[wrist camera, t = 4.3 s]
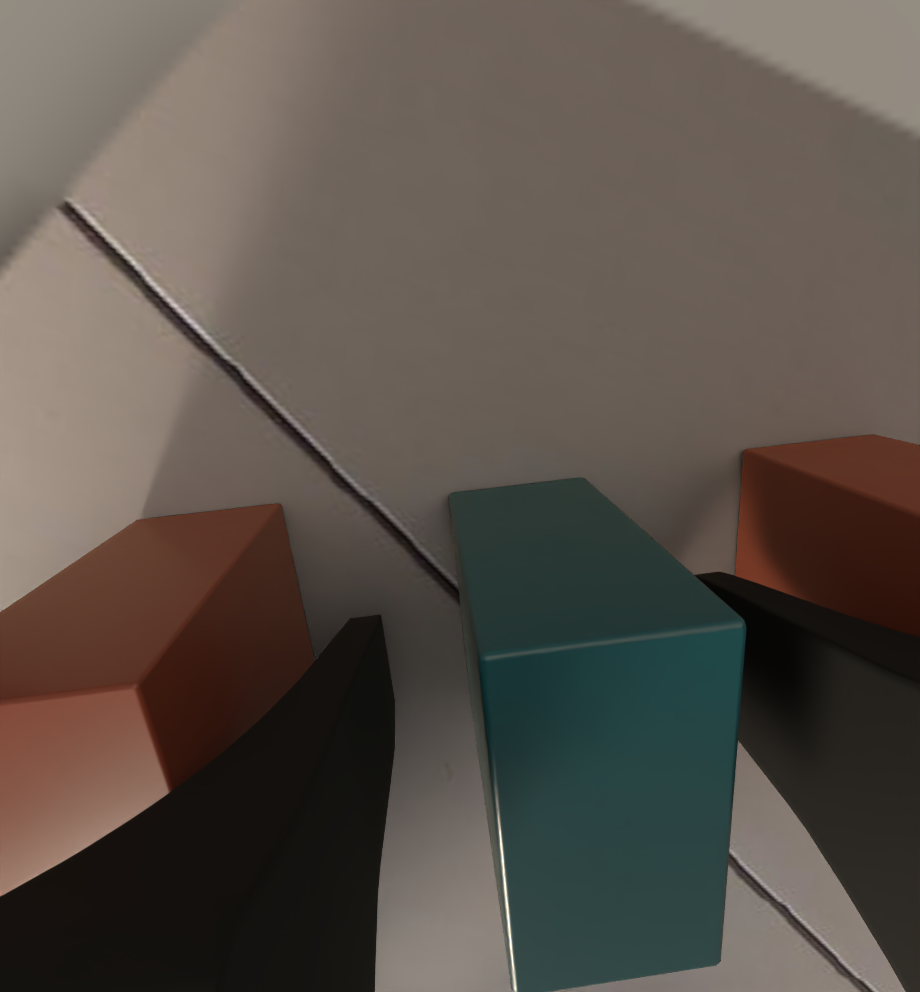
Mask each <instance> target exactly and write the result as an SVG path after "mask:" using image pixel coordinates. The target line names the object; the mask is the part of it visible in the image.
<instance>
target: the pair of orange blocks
mask: <svg viewBox="0 0 920 992" xmlns="http://www.w3.org/2000/svg"><path fill="white" fill-rule="evenodd" d="M735 576H737V577H740V578H744V579H747V580H750V581H753V582H756V583H758V584H761V585H764V586H767V587H770V588H773V589H775V590H778V591H781V592H784V593H787V594H789V595H792V596H795V597H798V598H800V599H803V600H806V601H809V602H812V603H814V604H817V605H820V606H823V607H826V608H829V609H832V610H834V611H837V612H840V613H843V614H846V615H849V616H852V617H855V618H858V619H861V620H865V621H868V622H871V623H874V624H877V625H880V626H884V627H887V628H890V629H893V630H896V631H900V632H903V633H907V634H910V635H914V636H917V637H920V445H917V444H913V443H908V442H904V441H900V440H895V439H891V438H887V437H882V436H878V435H874V434H873V435H865V436H856V437H847V438H839V439H830V440H822V441H813V442H804V443H796V444H787V445H779V446H770V447H761V448H753V449H746V450H744V452H743V467H742V482H741V496H740V511H739V526H738V540H737V555H736V570H735ZM314 662H315V661H314V656H313V651H312V647H311V642H310V637H309V633H308V628H307V623H306V619H305V614H304V609H303V605H302V600H301V595H300V591H299V586H298V581H297V577H296V572H295V567H294V563H293V558H292V553H291V549H290V544H289V539H288V535H287V530H286V525H285V521H284V516H283V511H282V507H281V504H269V505H260V506H252V507H243V508H234V509H226V510H217V511H209V512H200V513H191V514H183V515H174V516H166V517H157V518H148V519H140V520H136V521H135V522H133V523H132V524H130V525H129V526H127V527H126V528H124V529H123V530H121V531H120V532H119V533H117V534H116V535H114V536H113V537H111V538H110V539H108V540H107V541H105V542H104V543H102V544H101V545H99V546H98V547H96V548H95V549H93V550H92V551H90V552H89V553H87V554H86V555H84V556H83V557H81V558H80V559H79V560H77V561H76V562H74V563H73V564H71V565H70V566H68V567H67V568H65V569H64V570H62V571H61V572H59V573H58V574H56V575H55V576H53V577H52V578H50V579H49V580H47V581H46V582H44V583H43V584H42V585H40V586H39V587H37V588H36V589H34V590H33V591H31V592H30V593H28V594H27V595H25V596H24V597H22V598H21V599H19V600H18V601H16V602H15V603H13V604H12V605H10V606H9V607H7V608H6V609H5V610H3V611H2V612H0V897H1V896H2V895H4V894H6V893H8V892H9V891H11V890H13V889H15V888H17V887H18V886H20V885H22V884H24V883H25V882H27V881H29V880H31V879H33V878H34V877H36V876H38V875H40V874H42V873H43V872H45V871H47V870H49V869H50V868H52V867H54V866H56V865H58V864H59V863H61V862H63V861H65V860H66V859H68V858H70V857H71V856H73V855H75V854H76V853H78V852H80V851H81V850H83V849H85V848H86V847H88V846H90V845H91V844H93V843H94V842H96V841H97V840H99V839H101V838H102V837H104V836H105V835H107V834H109V833H110V832H112V831H113V830H115V829H116V828H118V827H120V826H121V825H123V824H124V823H126V822H127V821H129V820H130V819H132V818H133V817H135V816H136V815H138V814H139V813H141V812H142V811H144V810H145V809H147V808H148V807H150V806H151V805H153V804H154V803H156V802H157V801H159V800H160V799H161V798H163V797H164V796H166V795H167V794H168V793H170V792H171V791H172V790H174V789H175V788H176V787H178V786H179V785H180V784H182V783H183V782H184V781H186V780H187V779H188V778H190V777H191V776H192V775H194V774H195V773H196V772H198V771H199V770H200V769H202V768H203V767H204V766H206V765H207V764H208V763H210V762H211V761H212V760H214V759H215V758H216V757H217V756H219V755H220V754H221V753H222V752H223V751H225V750H226V749H227V748H228V747H229V746H230V745H232V744H233V743H234V742H235V741H236V740H237V739H239V738H240V737H241V736H242V735H243V734H244V733H246V732H247V731H248V730H249V729H250V728H251V727H252V726H253V725H254V724H256V723H257V722H258V721H259V720H260V719H261V718H262V717H263V716H264V715H265V714H266V713H267V712H268V711H269V710H270V709H271V708H272V707H273V706H274V705H275V704H276V703H277V702H278V701H279V700H280V699H281V698H282V697H283V696H284V695H285V694H286V693H287V691H288V690H289V689H290V688H291V687H292V686H293V685H294V684H295V683H296V682H297V681H298V680H299V679H300V678H301V677H302V675H303V674H304V673H305V672H306V671H307V670H308V669H309V667H310V666H311V665H312V664H313V663H314Z"/></svg>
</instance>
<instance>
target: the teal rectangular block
mask: <svg viewBox="0 0 920 992" xmlns="http://www.w3.org/2000/svg"><path fill="white" fill-rule="evenodd" d="M448 499H449V508H450V517H451V526H452V535H453V544H454V553H455V562H456V571H457V580H458V589H459V598H460V607H461V616H462V625H463V635H464V644H465V653H466V662H467V671H468V680H469V689H470V698H471V707H472V714H473V721H474V728H475V735H476V742H477V749H478V756H479V763H480V770H481V777H482V784H483V791H484V798H485V805H486V812H487V819H488V826H489V834H490V841H491V848H492V855H493V862H494V869H495V876H496V883H497V890H498V897H499V904H500V911H501V918H502V925H503V932H504V939H505V946H506V953H507V960H508V967H509V974H510V981H511V988H512V990H513V992H551V991H558V990H564V989H570V988H577V987H583V986H589V985H596V984H602V983H608V982H614V981H621V980H627V979H633V978H640V977H646V976H652V975H659V974H665V973H671V972H678V971H684V970H690V969H696V968H703V967H709V966H715V965H717V964H719V963H720V961H721V949H722V936H723V923H724V910H725V898H726V885H727V872H728V859H729V846H730V833H731V820H732V808H733V795H734V782H735V769H736V756H737V743H738V730H739V718H740V705H741V692H742V679H743V666H744V653H745V640H746V624H745V621H744V619H743V618H742V617H741V616H739V615H738V614H737V613H736V612H735V611H734V610H733V609H732V608H730V607H729V606H728V605H727V604H726V603H725V602H724V601H723V600H721V599H720V598H719V597H718V596H717V595H716V594H715V593H714V592H712V591H711V590H710V589H709V588H708V587H707V586H706V585H705V584H703V583H702V582H701V581H700V580H699V579H698V578H697V577H696V576H694V575H693V574H692V573H691V572H690V571H689V570H688V569H686V568H685V567H684V566H683V565H682V564H681V563H680V562H679V561H677V560H676V559H675V558H674V557H673V556H672V555H671V554H670V553H668V552H667V551H666V550H665V549H664V548H663V547H662V546H661V545H659V544H658V543H657V542H656V541H655V540H654V539H653V538H652V537H650V536H649V535H648V534H647V533H646V532H645V531H644V530H643V529H641V528H640V527H639V526H638V525H637V524H636V523H635V522H634V521H632V520H631V519H630V518H629V517H628V516H627V515H626V514H625V513H623V512H622V511H621V510H620V509H619V508H618V507H617V506H616V505H614V504H613V503H612V502H611V501H610V500H609V499H608V498H607V497H605V496H604V495H603V494H602V493H601V492H600V491H599V490H598V489H596V488H595V487H594V486H593V485H592V484H591V483H590V482H588V481H587V480H586V479H585V478H574V479H566V480H557V481H549V482H540V483H531V484H523V485H514V486H506V487H497V488H489V489H480V490H472V491H463V492H455V493H451V494H449V497H448Z"/></svg>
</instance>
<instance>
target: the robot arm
mask: <svg viewBox="0 0 920 992" xmlns="http://www.w3.org/2000/svg"><path fill="white" fill-rule="evenodd" d="M694 576H696V577H697V578H698V579H699V580H700V581H701V582H702V583H703V584H705V585H706V586H707V587H708V588H709V589H710V590H711V591H712V592H714V593H715V594H716V595H717V596H718V597H719V598H720V599H721V600H723V601H724V602H725V603H726V604H727V605H728V606H729V607H730V608H732V609H733V610H734V611H735V612H736V613H737V614H738V615H739V616H741V617H742V618H743V619H744V621H745V624H746V640H745V653H744V666H743V679H742V692H741V705H740V718H739V730H738V741H739V742H740V743H741V744H742V746H743V747H744V748H745V750H746V751H747V752H748V753H749V755H750V756H751V757H752V758H753V760H754V761H755V762H756V764H757V765H758V766H759V767H760V769H761V770H762V771H763V773H764V774H765V775H766V776H767V778H768V779H769V780H770V782H771V783H772V784H773V785H774V787H775V788H776V789H777V791H778V792H779V793H780V794H781V796H782V797H783V798H784V800H785V801H786V802H787V803H788V805H789V806H790V807H791V809H792V810H793V812H794V813H795V814H796V816H797V817H798V819H799V820H800V821H801V823H802V824H803V826H804V827H805V828H806V830H807V831H808V833H809V834H810V836H811V837H812V839H813V840H814V842H815V844H816V845H817V847H818V848H819V850H820V851H821V853H822V854H823V856H824V858H825V859H826V861H827V862H828V864H829V865H830V867H831V868H832V870H833V872H834V873H835V875H836V876H837V878H838V879H839V881H840V883H841V884H842V886H843V887H844V889H845V890H846V892H847V894H848V895H849V897H850V899H851V900H852V902H853V904H854V905H855V907H856V909H857V910H858V912H859V913H860V915H861V917H862V918H863V920H864V922H865V923H866V925H867V927H868V928H869V930H870V932H871V933H872V935H873V937H874V938H875V940H876V941H877V943H878V945H879V946H880V948H881V950H882V951H883V953H884V955H885V956H886V958H887V960H888V961H889V963H890V965H891V967H892V968H893V970H894V972H895V974H896V975H897V977H898V979H899V981H900V982H901V984H902V986H903V988H904V989H905V991H906V992H920V637H917V636H914V635H910V634H907V633H903V632H900V631H896V630H893V629H890V628H887V627H884V626H880V625H877V624H874V623H871V622H868V621H865V620H861V619H858V618H855V617H852V616H849V615H846V614H843V613H840V612H837V611H834V610H832V609H829V608H826V607H823V606H820V605H817V604H814V603H812V602H809V601H806V600H803V599H800V598H798V597H795V596H792V595H789V594H787V593H784V592H781V591H778V590H775V589H773V588H770V587H767V586H764V585H761V584H758V583H756V582H753V581H750V580H747V579H744V578H740V577H737V576H734V575H730V574H726V573H722V572H713V573H705V574H697V575H694ZM394 749H395V698H394V692H393V686H392V680H391V674H390V668H389V662H388V655H387V649H386V643H385V637H384V631H383V625H382V619H381V615H374V616H366V617H358V618H350V619H349V621H348V622H347V623H346V624H345V625H344V626H343V628H342V629H341V630H340V631H339V632H338V634H337V635H336V636H335V637H334V639H333V640H332V641H331V642H330V643H329V645H328V646H327V647H326V648H325V650H324V651H323V652H322V653H321V654H320V656H319V657H318V658H317V659H316V660H315V662H314V663H313V664H312V665H311V666H310V667H309V669H308V670H307V671H306V672H305V673H304V674H303V675H302V677H301V678H300V679H299V680H298V681H297V682H296V683H295V684H294V685H293V686H292V687H291V688H290V689H289V690H288V691H287V693H286V694H285V695H284V696H283V697H282V698H281V699H280V700H279V701H278V702H277V703H276V704H275V705H274V706H273V707H272V708H271V709H270V710H269V711H268V712H267V713H266V714H265V715H264V716H263V717H262V718H261V719H260V720H259V721H258V722H257V723H256V724H254V725H253V726H252V727H251V728H250V729H249V730H248V731H247V732H246V733H244V734H243V735H242V736H241V737H240V738H239V739H237V740H236V741H235V742H234V743H233V744H232V745H230V746H229V747H228V748H227V749H226V750H225V751H223V752H222V753H221V754H220V755H219V756H217V757H216V758H215V759H214V760H212V761H211V762H210V763H208V764H207V765H206V766H204V767H203V768H202V769H200V770H199V771H198V772H196V773H195V774H194V775H192V776H191V777H190V778H188V779H187V780H186V781H184V782H183V783H182V784H180V785H179V786H178V787H176V788H175V789H174V790H172V791H171V792H170V793H168V794H167V795H166V796H164V797H163V798H161V799H160V800H159V801H157V802H156V803H154V804H153V805H151V806H150V807H148V808H147V809H145V810H144V811H142V812H141V813H139V814H138V815H136V816H135V817H133V818H132V819H130V820H129V821H127V822H126V823H124V824H123V825H121V826H120V827H118V828H116V829H115V830H113V831H112V832H110V833H109V834H107V835H105V836H104V837H102V838H101V839H99V840H97V841H96V842H94V843H93V844H91V845H90V846H88V847H86V848H85V849H83V850H81V851H80V852H78V853H76V854H75V855H73V856H71V857H70V858H68V859H66V860H65V861H63V862H61V863H59V864H58V865H56V866H54V867H52V868H50V869H49V870H47V871H45V872H43V873H42V874H40V875H38V876H36V877H34V878H33V879H31V880H29V881H27V882H25V883H24V884H22V885H20V886H18V887H17V888H15V889H13V890H11V891H9V892H8V893H6V894H4V895H2V896H1V897H0V992H375V963H376V933H377V904H378V887H379V875H380V864H381V856H382V848H383V840H384V832H385V824H386V816H387V808H388V800H389V792H390V783H391V775H392V767H393V758H394Z"/></svg>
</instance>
